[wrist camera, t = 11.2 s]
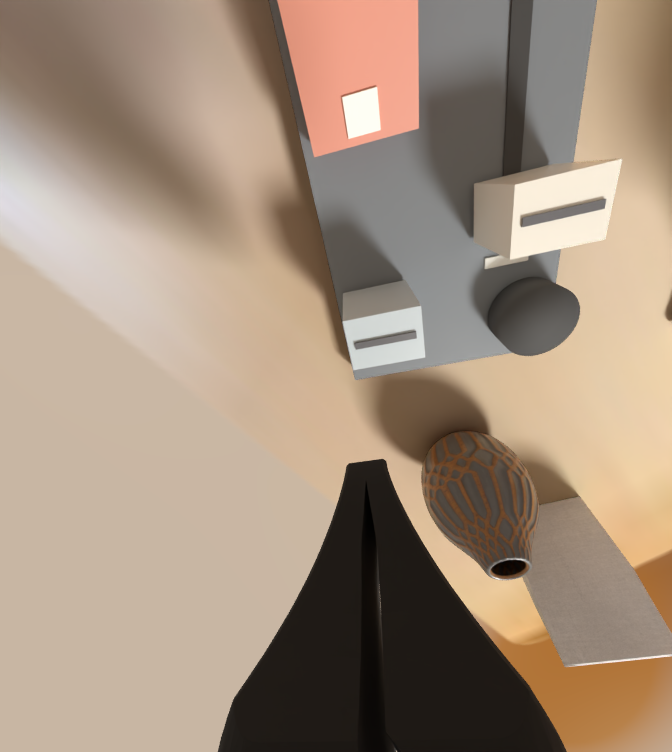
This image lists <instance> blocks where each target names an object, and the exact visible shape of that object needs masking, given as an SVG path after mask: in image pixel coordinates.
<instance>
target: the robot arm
mask: <svg viewBox="0 0 672 752" xmlns="http://www.w3.org/2000/svg"><path fill="white" fill-rule="evenodd" d="M379 584H380V589H379ZM380 602H381V609H380ZM396 750H397V752H566V749H565V747H564V745H563V743H562V741H561V739H560V737H559V735H558V733H557V731H556V729H555V728H554V726H553V724H552V722H551V721H550V719H549V717H548V716H547V714H546V712H545V711H544V709H543V708H542V706H541V704H540V703H539V701H538V700H537V698H536V696H535V695H534V693H533V692H532V690H531V688H530V687H529V685H528V684H527V683H526V681H525V680H524V679H523V678H522V677H521V675H520V674H519V673H518V672H517V671H516V669H515V668H514V667H513V666H512V665H511V664H510V662H509V661H508V660H507V659H506V657H505V656H504V655H503V654H502V652H501V651H500V650H499V649H498V647H497V646H496V645H495V644H494V642H493V641H492V640H491V639H490V637H489V636H488V635H487V634H486V632H485V631H484V630H483V628H482V627H481V626H480V625H479V623H478V622H477V621H476V619H475V618H474V617H473V615H472V614H471V613H470V611H469V610H468V609H467V607H466V606H465V604H464V603H463V602H462V600H461V599H460V598H459V596H458V595H457V594H456V592H455V591H454V589H453V588H452V587H451V585H450V584H449V582H448V581H447V579H446V578H445V576H444V575H443V574H442V572H441V571H440V569H439V568H438V566H437V565H436V563H435V561H434V560H433V558H432V557H431V555H430V554H429V552H428V550H427V549H426V547H425V546H424V544H423V542H422V541H421V539H420V537H419V535H418V534H417V532H416V530H415V528H414V527H413V525H412V523H411V521H410V519H409V517H408V516H407V514H406V512H405V510H404V508H403V506H402V504H401V502H400V500H399V497H398V495H397V493H396V491H395V488H394V486H393V483H392V481H391V478H390V475H389V472H388V468H387V463H386V461H385V460H384V459H378V460H371V461H364V462H357V463H349V464H348V465H347V467H346V473H345V478H344V482H343V486H342V490H341V493H340V497H339V500H338V503H337V506H336V509H335V512H334V515H333V519H332V521H331V524H330V527H329V529H328V532H327V534H326V537H325V539H324V542H323V545H322V547H321V549H320V552H319V554H318V556H317V559H316V561H315V563H314V565H313V567H312V569H311V571H310V574H309V576H308V578H307V580H306V582H305V584H304V586H303V588H302V590H301V591H300V593H299V595H298V597H297V599H296V601H295V603H294V605H293V606H292V608H291V610H290V612H289V614H288V615H287V617H286V619H285V620H284V622H283V624H282V625H281V627H280V629H279V630H278V632H277V634H276V635H275V637H274V639H273V640H272V642H271V644H270V645H269V647H268V648H267V650H266V652H265V653H264V655H263V656H262V658H261V659H260V661H259V662H258V664H257V665H256V667H255V668H254V670H253V671H252V673H251V675H250V676H249V677H248V679H247V680H246V682H245V683H244V684H243V686H242V688H241V689H240V690H239V692H238V694H237V695H236V696H235V698H234V700H233V702H232V705H231V708H230V711H229V714H228V717H227V720H226V724H225V727H224V730H223V734H222V737H221V741H220V745H219V749H218V752H396Z"/></svg>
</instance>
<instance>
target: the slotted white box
mask: <svg viewBox="0 0 672 752" xmlns="http://www.w3.org/2000/svg"><path fill="white" fill-rule="evenodd" d="M343 326H344V330H345V334H346V339H347V343H348V348H349V352H350V357H351V361H352V365H353V370H358V369H364V368H369V367H375V366H380V365H386V364H392V363H397V362H403V361H408V360H414V359H419V358H425V346H424V334H423V322H422V310H421V305H420V303H419V301H418V300H417V298H416V296H415V295H414V293H413V292H412V290H411V288H410V287H409V285H408V283H407V282H406V280H402V281H398V282H393V283H388V284H384V285H379V286H374V287H370V288H365V289H360V290H356V291H351V292H346V293H343Z"/></svg>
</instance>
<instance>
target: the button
mask: <svg viewBox="0 0 672 752" xmlns="http://www.w3.org/2000/svg"><path fill="white" fill-rule="evenodd" d="M579 314H580V306H579V302H578V299H577V298H576V296H575V295H574V294H573V293H572V292H571V291H569V290H568V289H566V288H564V287H562V286H560V285H558V284H555V283H553V282H551V281H549V280H547V279H545V278H541V277H527V278H523V279H520V280H517V281H515V282H513V283H511V284H510V285H508V286H507V287H506V288H504V289H503V290H502V291H501V292H500V293H499V294H498V295H497V296H496V298H495V299H494V301H493V302H492V304H491V307H490V309H489V313H488V325H489V328H490V330H491V332H492V333H493V334H494V336H495V337H496V338H497V339H498V340H499V341H500V342H501V343H502V344H503V345H504V346H505V347H506V348H507V349H508V350H509V351H511V352H513V353H515V354H518V355H523V356H533V355H538V354H542V353H545V352H547V351H550V350H552V349H553V348H555V347H557V346H558V345H560V344H561V343H562V342H563V341H564V340H565V339H566V338H567V337H568V336H569V335H570V334H571V333H572V331H573V330H574V328H575V326H576V324H577V322H578V319H579Z"/></svg>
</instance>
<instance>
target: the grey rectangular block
mask: <svg viewBox="0 0 672 752" xmlns="http://www.w3.org/2000/svg"><path fill="white" fill-rule="evenodd" d="M522 578H523V580H524V582H525V584H526V587H527V589H528V591H529V593H530V596H531V598H532V600H533V602H534V604H535V607H536V609H537V611H538V613H539V615H540V617H541V619H542V621H543V623H544V625H545V627H546V629H547V631H548V633H549V635H550V637H551V639H552V641H553V643H554V645H555V647H556V649H557V652H558V654H559V656H560V658H561V660H562V662H563V664H564V666H565V667H571V666H581V665H591V664H600V663H610V662H620V661H629V660H639V659H649V658H659V657H668V656H672V633H671V632H670V630H669V628H668V627H667V625H666V623H665V622H664V620H663V618H662V617H661V615H660V613H659V612H658V610H657V608H656V606H655V605H654V603H653V601H652V600H651V598H650V596H649V594H648V593H647V591H646V589H645V588H644V586H643V584H642V582H641V581H640V579H639V578H638V576H637V574H636V572H635V570H634V569H633V567H632V566H631V565H630V563H629V562H628V561H627V559H626V558H625V557H624V555H623V554H622V553H621V551H620V550H619V549H618V547H617V546H616V545H615V543H614V542H613V540H612V539H611V538H610V536H609V535H608V534H607V532H606V531H605V530H604V528H603V527H602V526H601V524H600V523H599V522H598V520H597V519H596V518H595V516H594V515H593V514H592V512H591V511H590V509H589V508H588V507H587V505H586V504H585V503H584V501H583V500H582V499H581V497H580V496H579V497H574V498H569V499H565V500H560V501H556V502H551V503H547V504H542V505H539V521H538V526H537V530H536V534H535V537H534V541H533V545H532V569H531V570H530V571H529V572H528V573H527V574H526V575H524V576H522Z"/></svg>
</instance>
